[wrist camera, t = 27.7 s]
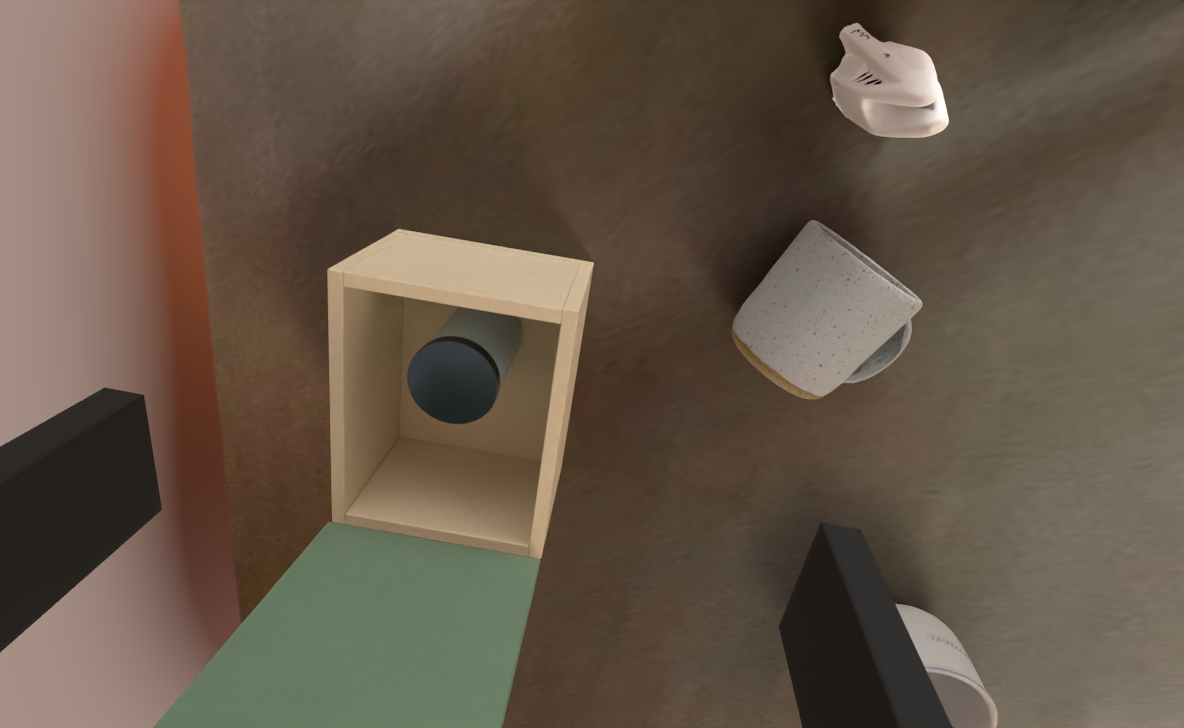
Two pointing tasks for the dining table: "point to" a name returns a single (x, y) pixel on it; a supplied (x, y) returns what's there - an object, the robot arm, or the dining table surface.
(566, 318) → the tan storage tray
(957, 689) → the teacup
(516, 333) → the coffee tin
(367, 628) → the lid
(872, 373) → the ceramic mug
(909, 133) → the shaker set
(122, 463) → the robot arm
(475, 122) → the dining table surface
